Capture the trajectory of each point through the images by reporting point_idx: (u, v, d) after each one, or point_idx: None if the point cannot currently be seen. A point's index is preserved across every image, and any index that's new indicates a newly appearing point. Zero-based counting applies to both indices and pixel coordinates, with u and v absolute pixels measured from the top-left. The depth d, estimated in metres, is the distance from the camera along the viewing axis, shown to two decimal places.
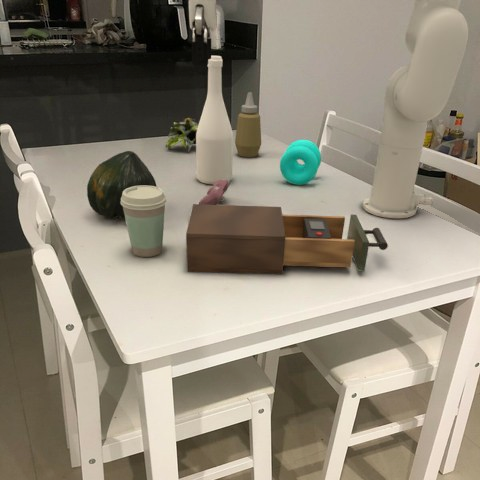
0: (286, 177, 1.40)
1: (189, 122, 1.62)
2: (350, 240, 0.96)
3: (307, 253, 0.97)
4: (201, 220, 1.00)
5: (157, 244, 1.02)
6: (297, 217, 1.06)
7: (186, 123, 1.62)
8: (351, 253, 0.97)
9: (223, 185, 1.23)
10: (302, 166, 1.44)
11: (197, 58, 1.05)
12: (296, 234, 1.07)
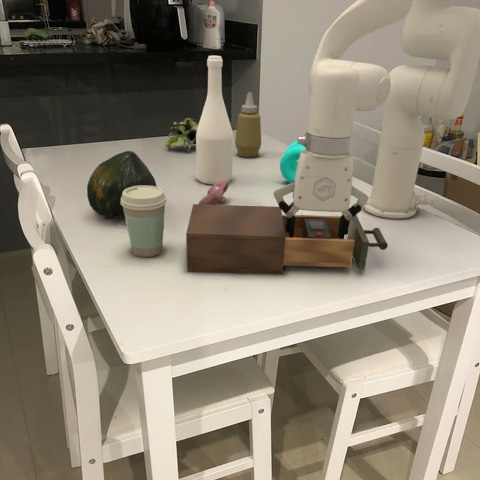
0: (286, 177, 1.40)
1: (189, 122, 1.62)
2: (350, 240, 0.96)
3: (307, 253, 0.97)
4: (201, 220, 1.00)
5: (157, 244, 1.02)
6: (297, 217, 1.06)
7: (186, 123, 1.62)
8: (351, 253, 0.97)
9: (223, 185, 1.23)
10: None
11: None
12: (296, 234, 1.07)
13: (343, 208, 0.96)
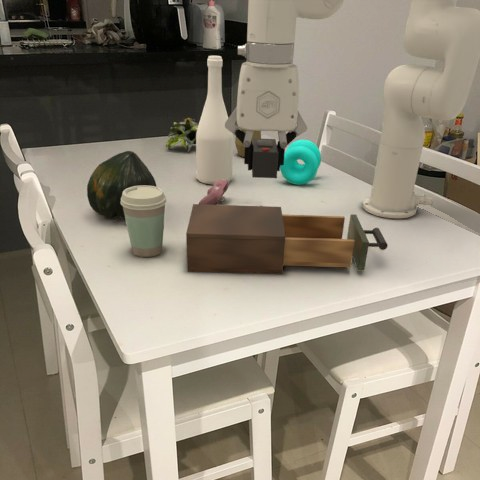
0: (286, 177, 1.40)
1: (189, 122, 1.62)
2: (350, 240, 0.96)
3: (307, 253, 0.97)
4: (201, 220, 1.00)
5: (157, 244, 1.02)
6: (297, 217, 1.06)
7: (186, 123, 1.62)
8: (351, 253, 0.97)
9: (223, 185, 1.23)
10: (302, 166, 1.44)
11: (244, 159, 0.95)
12: (296, 234, 1.07)
13: (290, 127, 0.89)
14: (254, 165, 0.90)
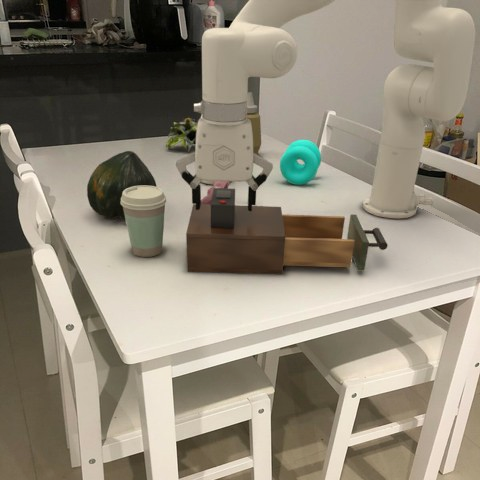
0: (286, 177, 1.40)
1: (189, 122, 1.62)
2: (350, 240, 0.96)
3: (307, 253, 0.97)
4: (201, 220, 1.00)
5: (157, 244, 1.02)
6: (297, 217, 1.06)
7: (186, 123, 1.62)
8: (351, 253, 0.97)
9: (223, 185, 1.23)
10: (302, 166, 1.44)
11: None
12: (296, 234, 1.07)
13: (246, 177, 0.93)
14: (212, 217, 0.95)
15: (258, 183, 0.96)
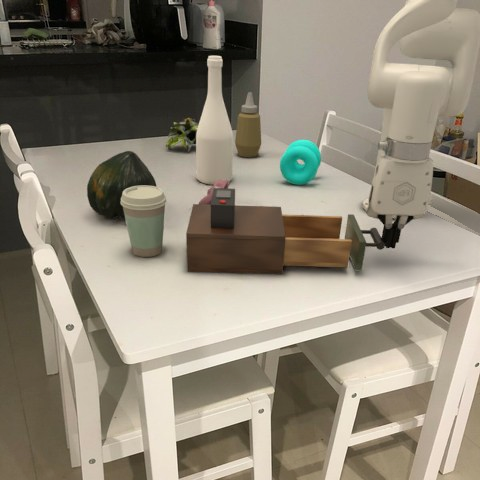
0: (286, 177, 1.40)
1: (189, 122, 1.62)
2: (347, 240, 0.96)
3: (304, 253, 0.97)
4: (201, 220, 1.00)
5: (157, 244, 1.02)
6: (294, 217, 1.06)
7: (186, 123, 1.62)
8: (348, 253, 0.97)
9: (223, 185, 1.23)
10: (302, 166, 1.44)
11: None
12: (293, 234, 1.07)
13: (421, 212, 0.96)
14: (212, 217, 0.95)
15: (404, 226, 1.00)
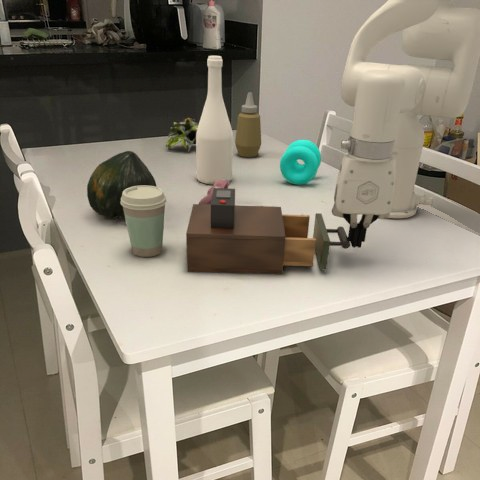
0: (286, 177, 1.40)
1: (189, 122, 1.62)
2: (311, 239, 0.96)
3: None
4: (201, 220, 1.00)
5: (157, 244, 1.02)
6: None
7: (186, 123, 1.62)
8: (313, 252, 0.97)
9: (223, 185, 1.23)
10: (302, 166, 1.44)
11: (348, 237, 1.02)
12: None
13: (386, 211, 0.96)
14: (212, 217, 0.95)
15: None
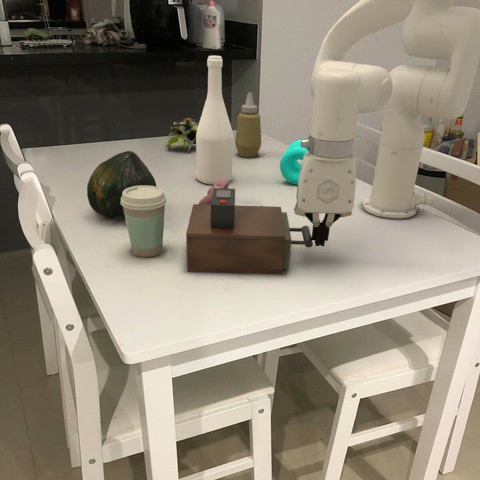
0: (286, 177, 1.40)
1: (189, 122, 1.62)
2: None
3: None
4: (201, 220, 1.00)
5: (157, 244, 1.02)
6: None
7: (186, 123, 1.62)
8: None
9: (223, 185, 1.23)
10: None
11: (312, 236, 1.02)
12: None
13: (347, 210, 0.96)
14: (212, 217, 0.95)
15: (332, 223, 1.00)
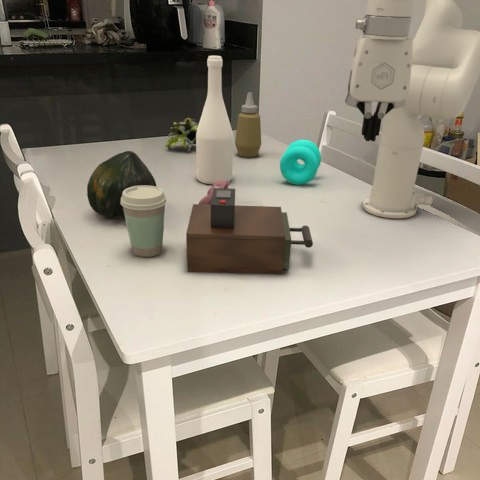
0: (286, 177, 1.40)
1: (189, 122, 1.62)
2: None
3: None
4: (201, 220, 1.00)
5: (157, 244, 1.02)
6: None
7: (186, 123, 1.62)
8: None
9: (223, 185, 1.23)
10: (302, 166, 1.44)
11: (362, 131, 1.00)
12: None
13: (401, 97, 0.93)
14: (212, 217, 0.95)
15: (384, 116, 0.97)
